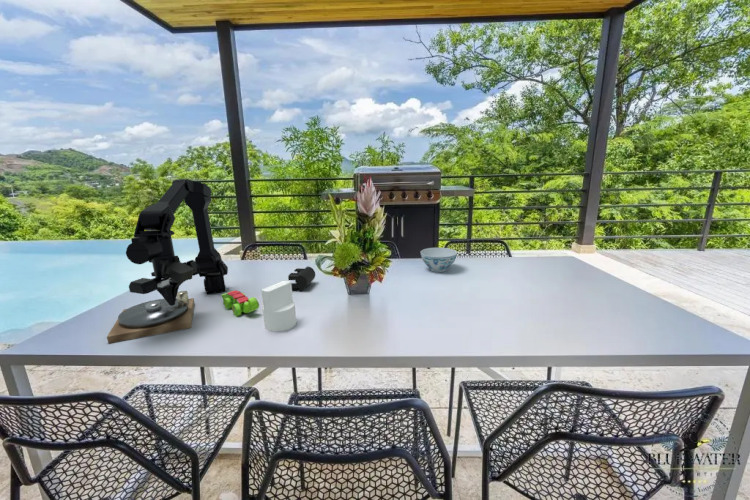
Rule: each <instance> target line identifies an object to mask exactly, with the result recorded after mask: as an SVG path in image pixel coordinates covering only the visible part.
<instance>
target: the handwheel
mask: <svg viewBox="0 0 750 500" xmlns="http://www.w3.org/2000/svg"><path fill="white" fill-rule="evenodd" d="M189 299H190V298H189V295H188V291H187V290H181V291H178V292H177V297H176V301H175V305H173V306H171V305H169V304H168V302H167V301H166V300H165V299H164V298H160V299H154V300H149V301H145V302H141V303H139V304H136V305H132V306H130V307H128V308H125V309H126V310H125V311H123V310H122V311H123V312H122V311H121V313H119V315H118V317H117V319H118V321H119V324H120V325H121V326H123V327H126V328H143V327H150V326H155V325H159V324H163V323H166V322H169V321H171V320H174V319H176V318H178V317H180V316H182V315H183V314H185V313H186V312H187V310H188V305H189Z"/></svg>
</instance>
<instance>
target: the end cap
mask: <svg viewBox="0 0 750 500" xmlns="http://www.w3.org/2000/svg"><path fill="white" fill-rule="evenodd" d="M287 278H288V280H287V281H294V282H291V285H292V292H302V291H304V290H305V289H307V288H306V287H308V286H309V285H310V284H311V283H312V282H313V280H315V278H316V271H315V270H314V268H313V267H311V266H306V267H305V268H298V267H297V268H295V269H294V272H290V273H289V274H288V275H287Z"/></svg>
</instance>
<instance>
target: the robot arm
mask: <svg viewBox="0 0 750 500" xmlns="http://www.w3.org/2000/svg"><path fill="white" fill-rule="evenodd" d="M183 201H184V203H185V205H187V207H188V208H189V209H190V210H191V212H192V218H193V223H194V227H195V233H196V240H197V244H198V251H199V252H198V253H197V256H196V257H195V258H194V259H191V260H188V261H185V262H182V261H181V260H180V257H179V255H175V250H174V244H173V238H172V236H173V235H175V232H174V231H173V230H171V228H172V227H173V225H174V222H175V221H176V217H175V213H176V211H177V209H178V208H179V207H180V205H181V204H182V202H183ZM211 201H212V189H211V187H210V186H209V185H207V183H204V182H202V183H201V182H199V181H198V182H197V181H194V180H192V179H188V178H179V179H178V178H177V179H174V180H172V183H171V186H170V187H168V189H167V190H166V191H165V192H164V194H163V195H162V197H160V199H159V200H158V201H157V202H156V203H154V204H151V205H149V206H147V207H145V208H144V209H142V210H141V211H140V213H139V215H138V217H137V222H136V227H135V229H134V234H133V237H131V239H130V240H131V242H130V243H129V244H128V246H127V247H126V251H125V255H126V257H127V259H128V260H129V261H130V262H131V263H133V264H135V265H143V264H145V263H147V262H148V263H152V267H153V271H152V272H150V275H151V277H152V278H146V277H142V278H138V279H136V280H132V281H130V283H129V285H128V289H129V293H133V294H138V295H139V294H141V295H145V294H150V293H152V292H155V291H157V292H158V293H159V294H160V295H161V296H162V298H163V299H165V300H166V301H167V302H168V304H169V305H171V306H173V305H175V301H176V298H177V292H179V289H180V286H181V285H182V284H183V283H185V282H186V281H189V280H192V279H193V276H197V275H199V277H200V278H202V277H204V278H203V286H204V291H205V292H206V295H210V294H211V295H212V294H217V293H223V292H225V293H226V292H227V288H226V283H225V277H224V276H226V275H228V271H229V268H228V265H227V264H226V263H225V262H224V261H223V259H222V255H221V253H220V252H219V251H218V250H217V249H216V248H215V245H214V239H213V232H212V227H211V221H210V216H209V210H208V209H209V206H210V203H211ZM153 277H154V278H153Z"/></svg>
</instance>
